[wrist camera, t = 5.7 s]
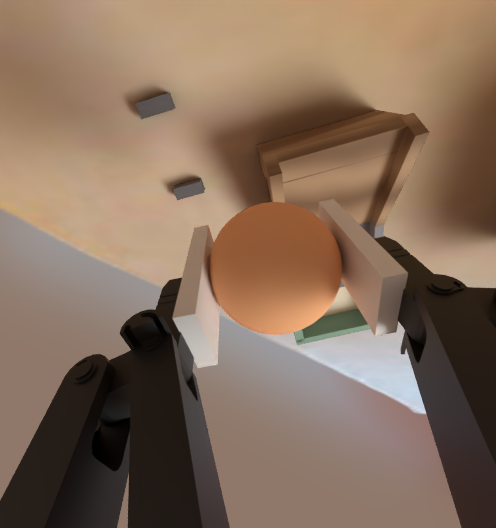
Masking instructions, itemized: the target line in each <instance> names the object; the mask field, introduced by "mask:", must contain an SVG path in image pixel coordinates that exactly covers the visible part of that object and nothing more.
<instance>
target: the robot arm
mask: <svg viewBox="0 0 496 528" xmlns="http://www.w3.org/2000/svg"><path fill="white" fill-rule="evenodd" d="M319 218H320V219H321V220H322V221H323V222H324V223H325V225H326V226H327V227H328V228H329V229H330V231H331V232H332V234H333V236H334V237H335V239H336V241H337V244H338V246H339V249H340V253H341V257H342V279H341V281H342V282H343V284H344V286H345V287H346V289H347V291H348V292H349V294H350V296H351V297H352V299H353V300H354V302H355V304H356V305H357V307H358V309H359V310H360V312H361V314H362V315H363V317H364V319H365V320H366V322H367V323H368V325H369V327H370V328H371V330H372V332H373V333H374V335H375V336H377V335H383V334H389V333H394V332H396V330H397V325H398V321H399V322H400V324H401V325H402V326H403V328H404V329H405V333H404V337H403V341H402V346H401V354H405V350H406V348H407V352H408V355H409V358H410V361H411V365H412V368H413V371H414V374H415V378H416V381H417V384H418V387H419V391H420V394H421V397H422V400H423V404H424V407H425V410H426V413H427V416H428V420H429V423H430V426H431V429H432V433H433V436H434V439H435V442H436V446H437V448H438V452H439V456H440V458H441V462H442V465H443V468H444V472H445V475H446V478H447V482H448V485H449V488H450V491H451V495H452V497H453V501H454V504H455V508H456V511H457V514H458V517H459V520H460V524H461V527H462V528H496V288H471V287H467V286H465V285H464V284H463V283H462V282H461V281H459V280H457V279H455V278H453V277H449V276H446V275H439V274H433V273H432V272H431V271H430V270H429V269H427V268H426V267H425V266H424V265H423V264H422V263H421V262H419V261H418V260H417V259H416V258H415V257H414V256H412V255H410V253H409V252H408V251H407V250H406V249H404V248H403V247H402V246H401V245H400V244H399V243H398V242H396V241H394V240H392V239H390V238H387V237H385V236H384V237H379V238H374V239H373V238H372V237H371V236H370V235H369V234H368V233H367V232H366V231H365V230H364V229H363V228H362V227H361V226H360V225H359V224H358V223H357V222H356V221H355V220H354V219H353V218H352V217H351V216H350V215H349V214H348V213H347V212H346V211H345V210H344V209H343V208H342V207H341V206H340V205H339V204H338V203H337V202H336V201H335V200H334V199H330V200H325V201H321V202H319ZM213 244H214V242H213V239H212V236H211V232H210V229H209V226H208V225H206V226H201V227H197V228H194V232H193V236H192V240H191V244H190V248H189V252H188V256H187V260H186V264H185V268H184V273H183V277H182V278H178V279H173V280H169V281H168V283H167V284H166V285H165V286H164V287H163V289H162V292H161V295H160V299H159V301H158V305H157V307H156V310H145V311H141V312H139V313H137V314H135V315H133V316H132V317H131V318H130V319H128V320H127V321H126V322H125V324H124V325H123V326H122V328H121V331H120V335H121V336H122V338H123V339H124V340H125V342H126V343H127V344H128V346H129V347H130V349H131V350H130V351H129V352H127V353H125V354H123V355H120V356H118V357H116V358H114V359H111V360H108V359H107V358H106V357H105V356H103V355H101V354H96V355H92V356H88V357H86V358H84V359H82V360H81V361H79V362H78V363H76V364H75V365H74V366H73V367H72V368H71V369H70V370H69V372H68V373H67V374H66V376H65V377H64V379H63V381H62V383H61V385H60V387H59V389H58V391H57V393H56V395H55V396H54V399H53V400H52V402H51V404H50V406H49V408H48V410H47V412H46V414H45V416H44V418H43V420H42V421H41V423H40V425H39V427H38V429H37V431H36V433H35V435H34V437H33V439H32V441H31V443H30V445H29V446H28V448H27V450H26V452H25V454H24V456H23V458H22V460H21V462H20V464H19V466H18V468H17V470H16V471H15V474H14V475H13V477H12V479H11V481H10V483H9V485H8V487H7V489H6V491H5V493H4V495H3V497H2V498H1V500H0V528H117V524H118V520H119V515H120V510H121V506H122V501H123V497H124V492H125V487H126V483H127V478H128V473H129V499H128V501H129V502H128V528H230V527H229V523H228V518H227V514H226V509H225V505H224V500H223V496H222V491H221V487H220V483H219V478H218V474H217V469H216V465H215V461H214V456H213V452H212V447H211V443H210V438H209V434H208V429H207V425H206V420H205V416H204V412H203V407H202V403H201V399H200V394H199V389H198V385H197V380H196V377H195V375H194V373H193V371H192V369H193V361H195V363H196V364H197V367H198V368H200V367H205V366H210V365H217V363H218V338H219V310H220V304H219V302H218V301H217V299H216V297H215V294H214V292H213V289H212V286H211V281H210V274H209V260H210V255H211V251H212V247H213Z"/></svg>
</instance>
